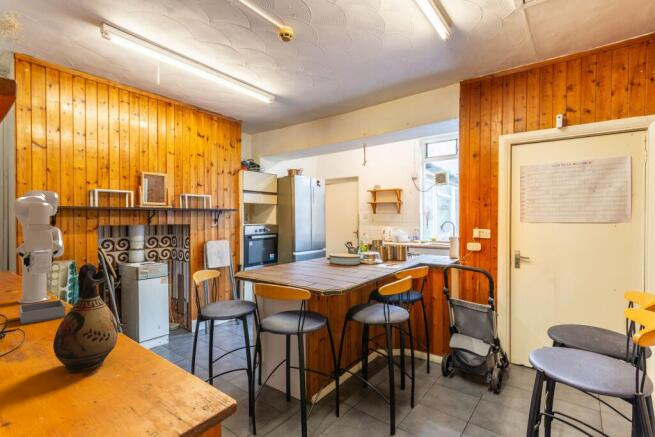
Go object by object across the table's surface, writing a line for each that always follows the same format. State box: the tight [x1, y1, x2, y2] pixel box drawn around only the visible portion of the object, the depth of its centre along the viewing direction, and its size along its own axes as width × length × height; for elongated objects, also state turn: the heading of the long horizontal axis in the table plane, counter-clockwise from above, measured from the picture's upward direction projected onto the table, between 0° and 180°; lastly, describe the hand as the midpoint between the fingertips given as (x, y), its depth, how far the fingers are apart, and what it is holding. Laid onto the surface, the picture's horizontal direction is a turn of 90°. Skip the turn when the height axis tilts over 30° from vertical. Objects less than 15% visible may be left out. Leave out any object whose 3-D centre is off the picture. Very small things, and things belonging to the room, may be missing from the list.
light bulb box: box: [26, 250, 53, 275], centre depth 151 cm, size 11×7×11 cm, turn 59°
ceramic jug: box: [52, 262, 119, 374], centre depth 95 cm, size 17×15×30 cm
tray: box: [18, 299, 66, 326], centre depth 140 cm, size 15×14×5 cm
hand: (38, 265), depth 151 cm, fingers closed on light bulb box, 7 cm apart
